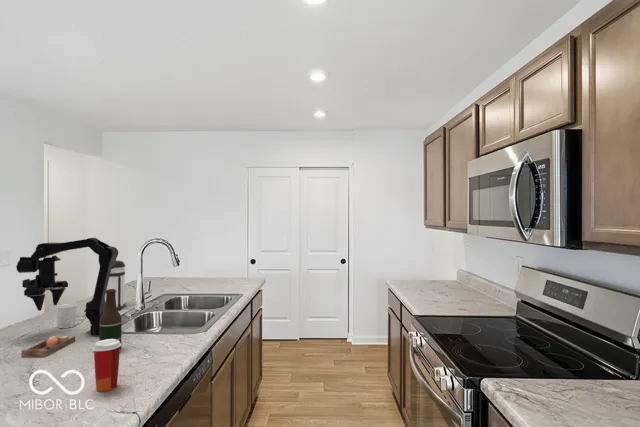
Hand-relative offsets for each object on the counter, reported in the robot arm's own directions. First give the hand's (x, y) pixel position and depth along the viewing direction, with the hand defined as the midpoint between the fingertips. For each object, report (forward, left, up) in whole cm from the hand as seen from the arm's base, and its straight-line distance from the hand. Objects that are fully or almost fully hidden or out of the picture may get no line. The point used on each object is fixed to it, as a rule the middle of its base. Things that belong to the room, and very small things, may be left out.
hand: (47, 307), depth 161 cm
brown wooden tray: (-12, +15, -13) cm, 23 cm away
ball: (-12, +15, -10) cm, 21 cm away
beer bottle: (-35, +15, -13) cm, 40 cm away
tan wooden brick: (-12, +11, -12) cm, 20 cm away
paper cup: (-51, +47, -13) cm, 71 cm away
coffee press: (0, -52, -13) cm, 54 cm away
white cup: (+3, -17, -13) cm, 22 cm away
